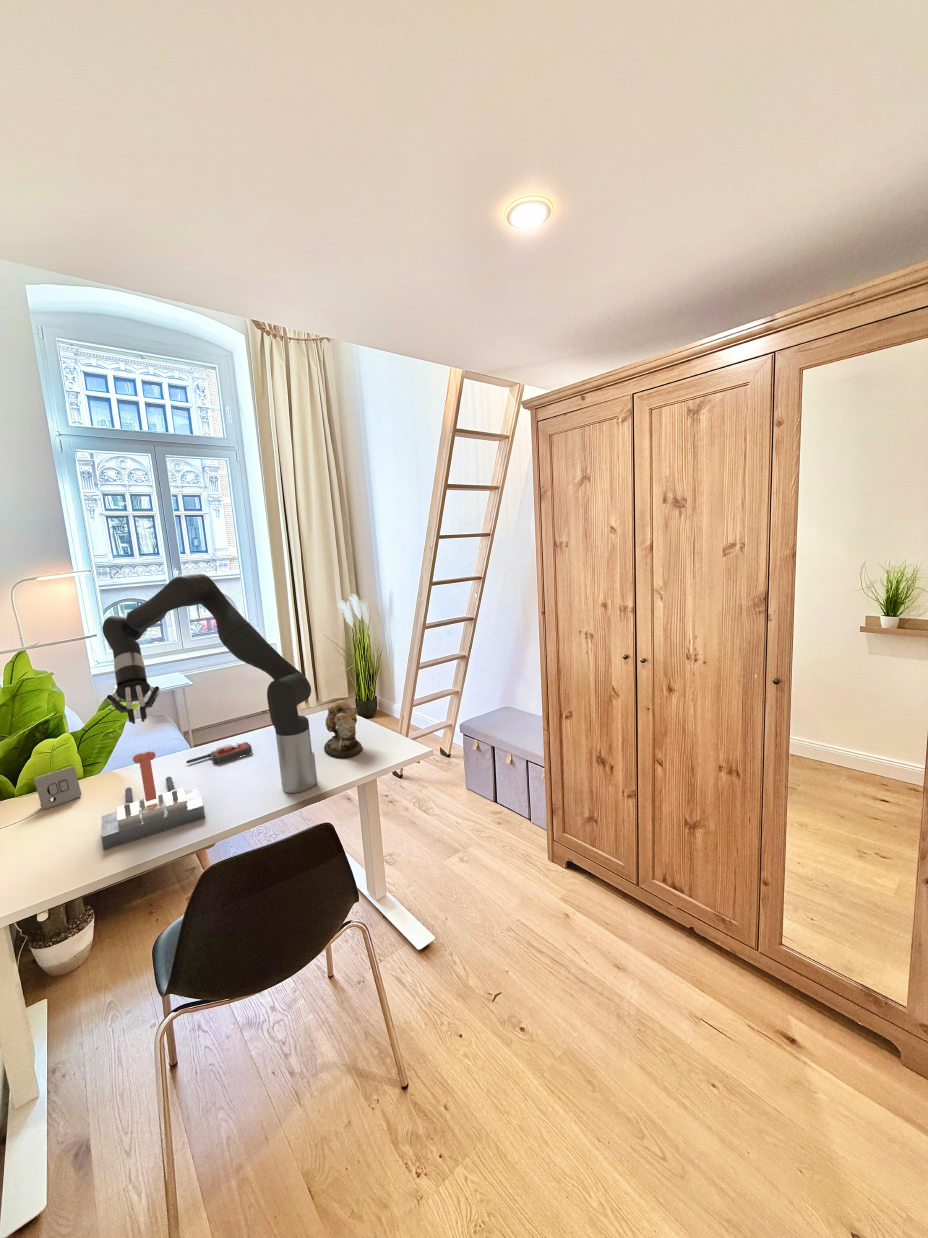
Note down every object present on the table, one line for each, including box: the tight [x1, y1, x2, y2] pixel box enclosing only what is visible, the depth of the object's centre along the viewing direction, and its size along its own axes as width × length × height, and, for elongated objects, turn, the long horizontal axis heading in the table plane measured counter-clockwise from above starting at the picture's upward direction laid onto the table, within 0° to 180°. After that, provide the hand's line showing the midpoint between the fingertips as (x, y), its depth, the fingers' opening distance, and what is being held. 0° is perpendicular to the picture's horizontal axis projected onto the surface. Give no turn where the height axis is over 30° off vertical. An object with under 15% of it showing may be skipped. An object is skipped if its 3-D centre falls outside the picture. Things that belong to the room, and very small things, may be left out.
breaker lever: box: [132, 750, 157, 802], centre depth 130 cm, size 5×2×12 cm, turn 125°
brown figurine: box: [323, 700, 363, 759], centre depth 171 cm, size 18×12×17 cm, turn 38°
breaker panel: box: [100, 788, 206, 851], centre depth 130 cm, size 22×12×8 cm, turn 125°
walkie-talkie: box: [185, 741, 253, 765], centre depth 169 cm, size 9×4×20 cm
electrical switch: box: [33, 766, 82, 810], centre depth 145 cm, size 9×5×9 cm, turn 141°
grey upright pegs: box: [125, 776, 175, 804], centre depth 144 cm, size 13×20×3 cm, turn 35°
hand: (138, 721), depth 142 cm, fingers closed
